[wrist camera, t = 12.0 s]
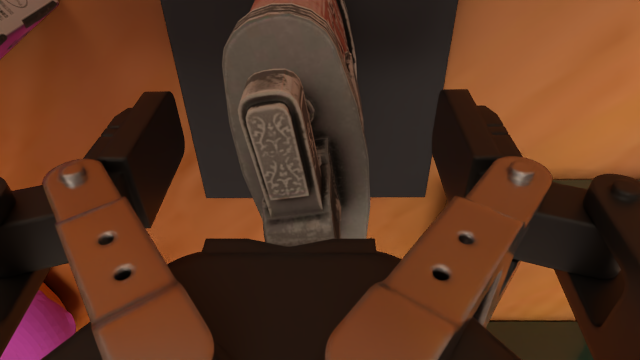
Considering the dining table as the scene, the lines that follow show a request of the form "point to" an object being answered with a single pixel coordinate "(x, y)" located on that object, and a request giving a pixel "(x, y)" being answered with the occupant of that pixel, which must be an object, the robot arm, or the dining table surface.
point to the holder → (544, 329)
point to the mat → (372, 77)
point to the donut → (40, 328)
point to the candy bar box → (20, 19)
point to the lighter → (299, 120)
